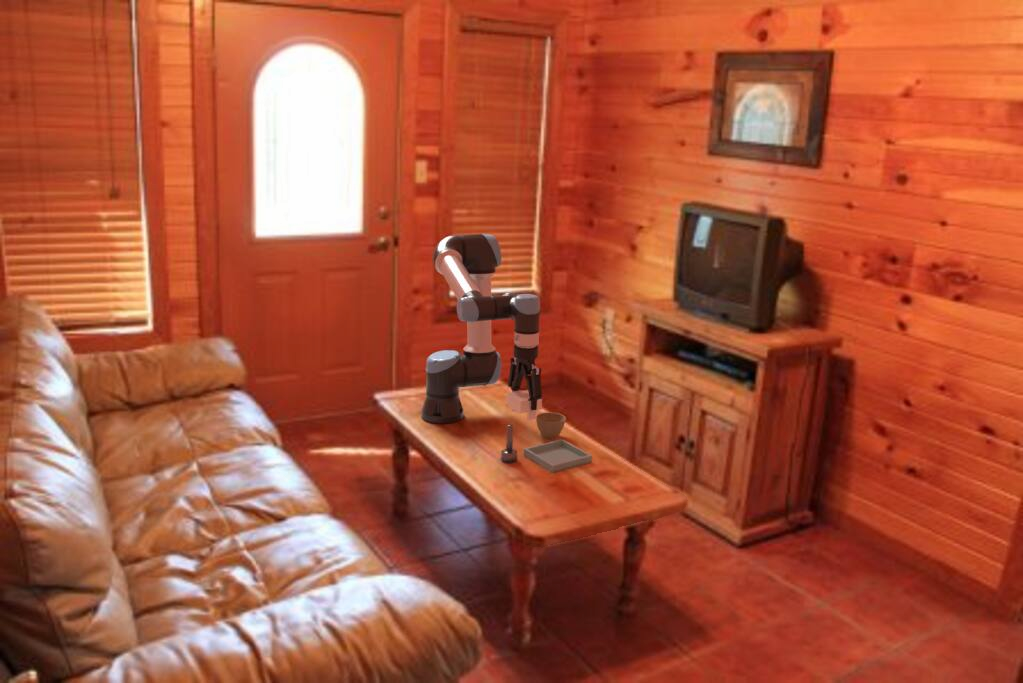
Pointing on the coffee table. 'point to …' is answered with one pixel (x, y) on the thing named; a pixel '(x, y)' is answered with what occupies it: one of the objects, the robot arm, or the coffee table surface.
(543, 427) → the flower pot
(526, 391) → the ring
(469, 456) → the coffee table surface
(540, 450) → the tray
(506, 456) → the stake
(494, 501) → the coffee table surface
